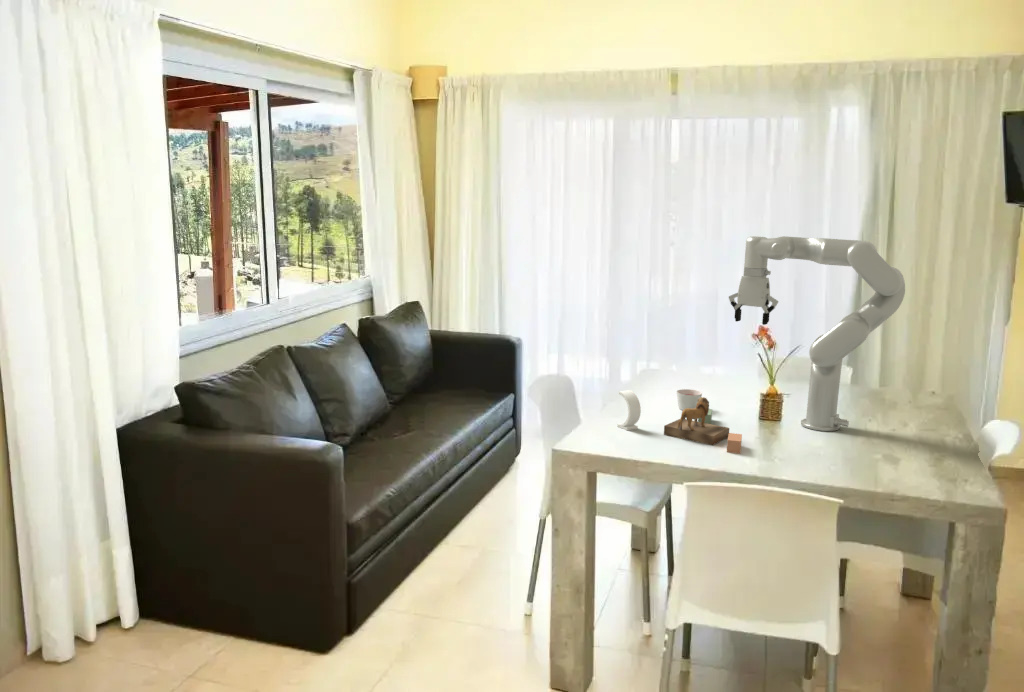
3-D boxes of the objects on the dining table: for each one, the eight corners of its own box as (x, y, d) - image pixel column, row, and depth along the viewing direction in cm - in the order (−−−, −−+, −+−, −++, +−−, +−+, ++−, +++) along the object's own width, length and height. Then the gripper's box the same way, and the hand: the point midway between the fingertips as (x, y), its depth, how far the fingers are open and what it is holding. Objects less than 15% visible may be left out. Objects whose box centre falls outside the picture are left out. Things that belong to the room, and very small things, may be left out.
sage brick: (699, 419, 294) (700, 408, 294) (711, 420, 293) (712, 409, 292) (697, 425, 287) (698, 413, 286) (709, 426, 286) (710, 414, 285)
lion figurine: (697, 421, 279) (699, 394, 278) (711, 424, 276) (713, 397, 274) (673, 430, 269) (674, 402, 267) (687, 433, 265) (689, 405, 264)
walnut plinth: (728, 436, 273) (729, 427, 273) (712, 445, 264) (713, 436, 263) (680, 426, 283) (681, 418, 283) (663, 434, 274) (664, 425, 273)
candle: (684, 404, 313) (686, 388, 312) (706, 409, 306) (707, 392, 305) (670, 408, 306) (671, 391, 305) (691, 413, 300) (693, 396, 299)
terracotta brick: (727, 445, 265) (728, 432, 264) (741, 446, 264) (742, 434, 263) (726, 452, 258) (727, 440, 257) (740, 454, 257) (741, 441, 256)
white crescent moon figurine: (627, 424, 284) (629, 390, 282) (639, 429, 280) (641, 393, 277) (617, 426, 282) (618, 391, 280) (629, 431, 277) (630, 395, 275)
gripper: (784, 274, 287) (779, 324, 290) (735, 270, 298) (732, 318, 301) (775, 276, 281) (771, 326, 285) (726, 271, 292) (723, 320, 295)
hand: (751, 322), depth 293 cm, fingers open, 9 cm apart
